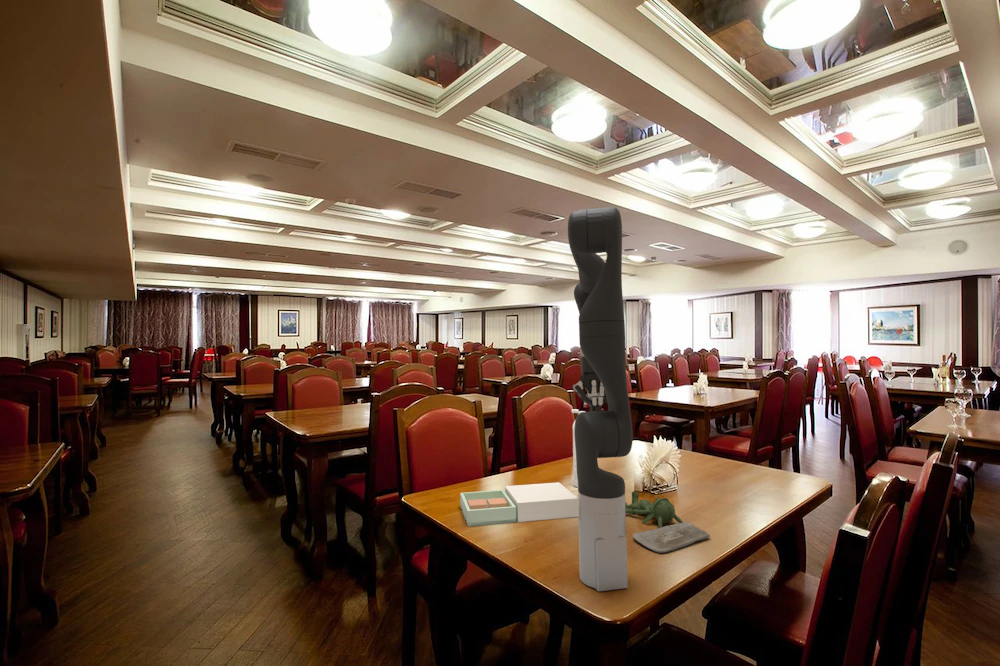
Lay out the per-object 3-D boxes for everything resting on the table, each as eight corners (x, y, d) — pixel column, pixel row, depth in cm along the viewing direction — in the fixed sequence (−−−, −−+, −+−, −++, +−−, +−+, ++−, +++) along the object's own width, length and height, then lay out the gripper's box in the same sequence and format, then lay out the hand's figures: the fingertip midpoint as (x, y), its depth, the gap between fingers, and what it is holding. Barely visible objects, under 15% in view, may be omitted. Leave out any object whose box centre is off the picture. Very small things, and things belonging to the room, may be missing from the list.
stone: (659, 552, 104) (627, 532, 112) (658, 564, 104) (627, 543, 113) (716, 531, 112) (682, 513, 121) (716, 542, 112) (682, 524, 121)
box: (516, 522, 125) (516, 507, 125) (467, 526, 122) (467, 511, 122) (503, 503, 140) (503, 489, 140) (460, 506, 138) (460, 492, 138)
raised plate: (578, 516, 128) (577, 498, 128) (518, 522, 125) (517, 503, 125) (559, 498, 144) (558, 482, 144) (505, 503, 140) (504, 486, 141)
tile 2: (507, 512, 130) (507, 503, 130) (490, 513, 129) (489, 504, 129) (504, 506, 135) (503, 497, 135) (486, 507, 134) (486, 498, 134)
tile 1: (469, 505, 128) (469, 515, 128) (487, 504, 129) (487, 513, 129) (467, 500, 133) (467, 509, 133) (484, 498, 134) (484, 507, 134)
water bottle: (596, 487, 155) (595, 411, 156) (580, 489, 153) (578, 412, 154) (582, 480, 163) (581, 408, 164) (566, 482, 161) (565, 409, 162)
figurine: (642, 488, 139) (689, 496, 122) (645, 516, 137) (693, 528, 120) (610, 493, 135) (654, 502, 117) (614, 522, 133) (658, 535, 116)
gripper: (576, 355, 122) (577, 422, 121) (623, 354, 124) (625, 420, 124) (566, 355, 129) (567, 418, 128) (611, 354, 132) (612, 416, 131)
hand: (596, 419), depth 126 cm, fingers closed
